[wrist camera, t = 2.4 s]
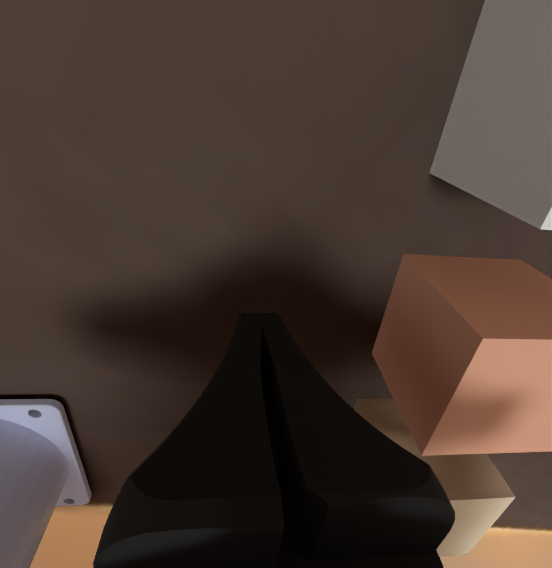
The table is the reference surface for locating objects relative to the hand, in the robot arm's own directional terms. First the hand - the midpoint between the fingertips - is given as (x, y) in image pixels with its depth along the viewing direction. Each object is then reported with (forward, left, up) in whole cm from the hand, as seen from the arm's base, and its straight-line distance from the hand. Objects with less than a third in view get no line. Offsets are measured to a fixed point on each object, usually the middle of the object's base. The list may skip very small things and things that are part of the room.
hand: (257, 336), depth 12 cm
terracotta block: (+8, 0, -2) cm, 8 cm away
